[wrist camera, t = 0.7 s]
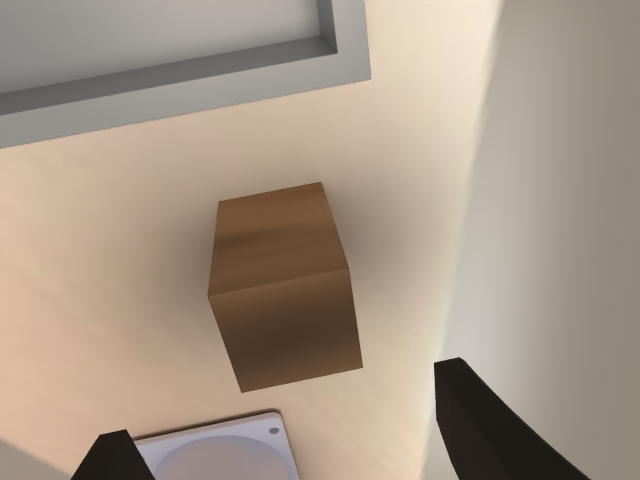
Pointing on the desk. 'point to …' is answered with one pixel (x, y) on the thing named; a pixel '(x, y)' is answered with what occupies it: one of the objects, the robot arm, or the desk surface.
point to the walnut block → (282, 289)
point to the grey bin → (165, 59)
